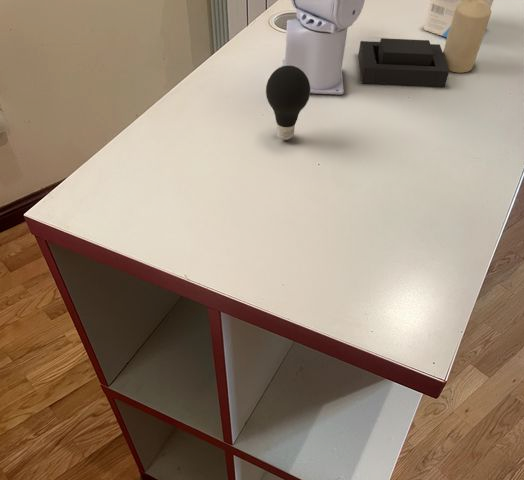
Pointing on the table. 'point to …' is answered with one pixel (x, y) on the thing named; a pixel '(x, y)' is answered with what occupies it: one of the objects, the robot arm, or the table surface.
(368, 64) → the socket pad
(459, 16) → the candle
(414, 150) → the table surface
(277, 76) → the light bulb
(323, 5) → the robot arm
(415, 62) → the small block
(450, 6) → the ink box
